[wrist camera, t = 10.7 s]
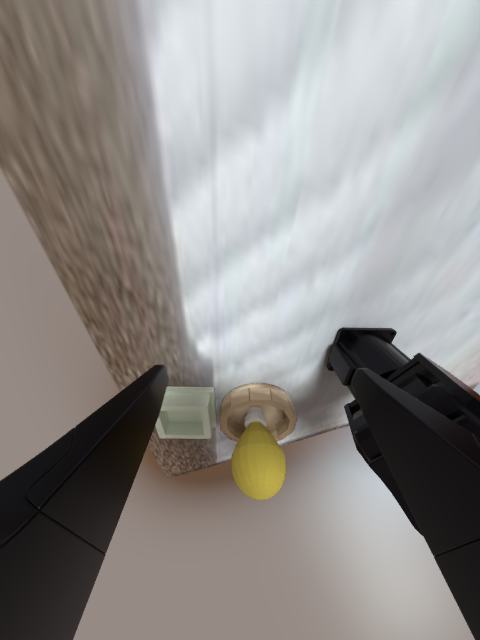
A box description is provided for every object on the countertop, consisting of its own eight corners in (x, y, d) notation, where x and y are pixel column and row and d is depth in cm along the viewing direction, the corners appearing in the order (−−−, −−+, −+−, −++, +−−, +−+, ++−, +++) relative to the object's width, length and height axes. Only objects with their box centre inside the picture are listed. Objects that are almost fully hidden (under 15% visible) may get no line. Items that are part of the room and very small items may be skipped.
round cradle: (297, 383, 26) (302, 400, 24) (285, 427, 32) (289, 444, 29) (220, 382, 26) (218, 399, 24) (222, 426, 32) (221, 444, 29)
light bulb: (282, 417, 29) (300, 504, 20) (244, 428, 31) (245, 512, 22) (266, 392, 26) (280, 481, 17) (225, 405, 28) (218, 492, 19)
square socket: (213, 387, 27) (211, 404, 24) (216, 423, 31) (214, 440, 29) (152, 386, 27) (143, 403, 24) (163, 422, 31) (157, 439, 29)
